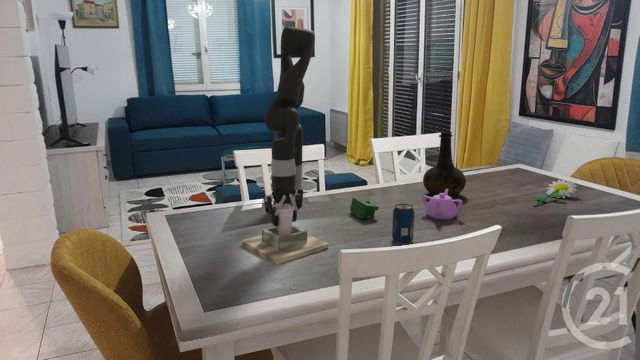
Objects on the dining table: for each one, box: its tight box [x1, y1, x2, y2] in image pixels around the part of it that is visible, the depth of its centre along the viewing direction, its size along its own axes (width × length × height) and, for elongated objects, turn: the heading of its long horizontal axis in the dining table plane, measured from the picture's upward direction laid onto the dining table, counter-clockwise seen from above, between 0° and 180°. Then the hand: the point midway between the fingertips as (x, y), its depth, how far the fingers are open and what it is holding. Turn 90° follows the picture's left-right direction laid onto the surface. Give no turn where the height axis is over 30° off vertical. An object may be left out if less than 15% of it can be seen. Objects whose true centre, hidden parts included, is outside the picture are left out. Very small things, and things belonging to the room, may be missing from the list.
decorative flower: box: [533, 179, 578, 207], centre depth 213 cm, size 13×5×30 cm
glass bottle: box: [422, 130, 467, 198], centre depth 217 cm, size 18×18×28 cm
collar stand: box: [240, 224, 329, 265], centre depth 163 cm, size 20×20×6 cm
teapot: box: [421, 189, 463, 221], centre depth 192 cm, size 12×14×9 cm
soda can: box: [391, 203, 415, 245], centre depth 167 cm, size 7×7×12 cm
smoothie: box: [275, 204, 294, 237], centre depth 161 cm, size 6×6×14 cm
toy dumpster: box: [349, 197, 379, 220], centre depth 194 cm, size 12×6×9 cm, turn 17°
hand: (284, 223), depth 161 cm, fingers closed on smoothie, 6 cm apart
